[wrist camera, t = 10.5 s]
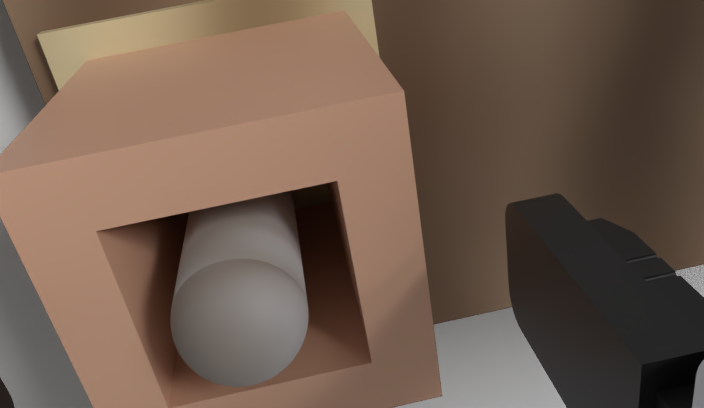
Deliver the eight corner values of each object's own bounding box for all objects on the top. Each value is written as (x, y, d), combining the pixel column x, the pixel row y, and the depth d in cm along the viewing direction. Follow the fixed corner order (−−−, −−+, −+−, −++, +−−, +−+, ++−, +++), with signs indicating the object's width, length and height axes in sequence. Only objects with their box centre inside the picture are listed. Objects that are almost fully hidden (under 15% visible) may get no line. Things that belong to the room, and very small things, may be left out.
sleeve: (344, 10, 14) (404, 90, 8) (379, 229, 16) (442, 396, 11) (86, 60, 13) (-20, 176, 8) (164, 275, 16) (123, 469, 11)
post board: (749, -259, 14) (1410, -443, 6) (693, 234, 20) (986, 467, 12) (-18, -122, 13) (-433, -127, 5) (166, 350, 19) (106, 685, 11)
